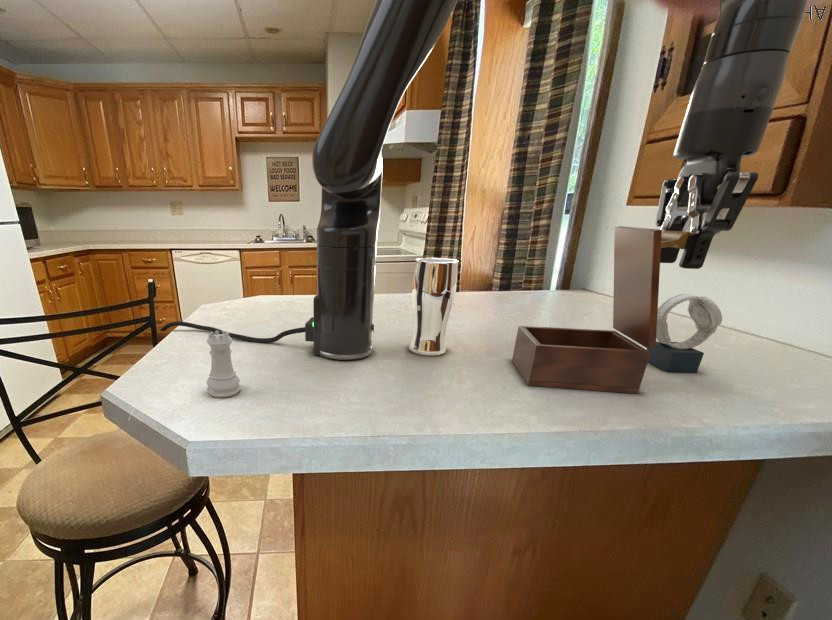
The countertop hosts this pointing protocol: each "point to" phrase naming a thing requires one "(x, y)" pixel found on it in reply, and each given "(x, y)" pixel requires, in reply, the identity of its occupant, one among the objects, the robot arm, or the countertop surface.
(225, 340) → the rook chess piece
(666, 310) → the watch
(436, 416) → the countertop surface
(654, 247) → the panel with brass rod
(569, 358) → the brown wooden box
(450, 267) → the beer glass
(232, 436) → the countertop surface
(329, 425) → the countertop surface
